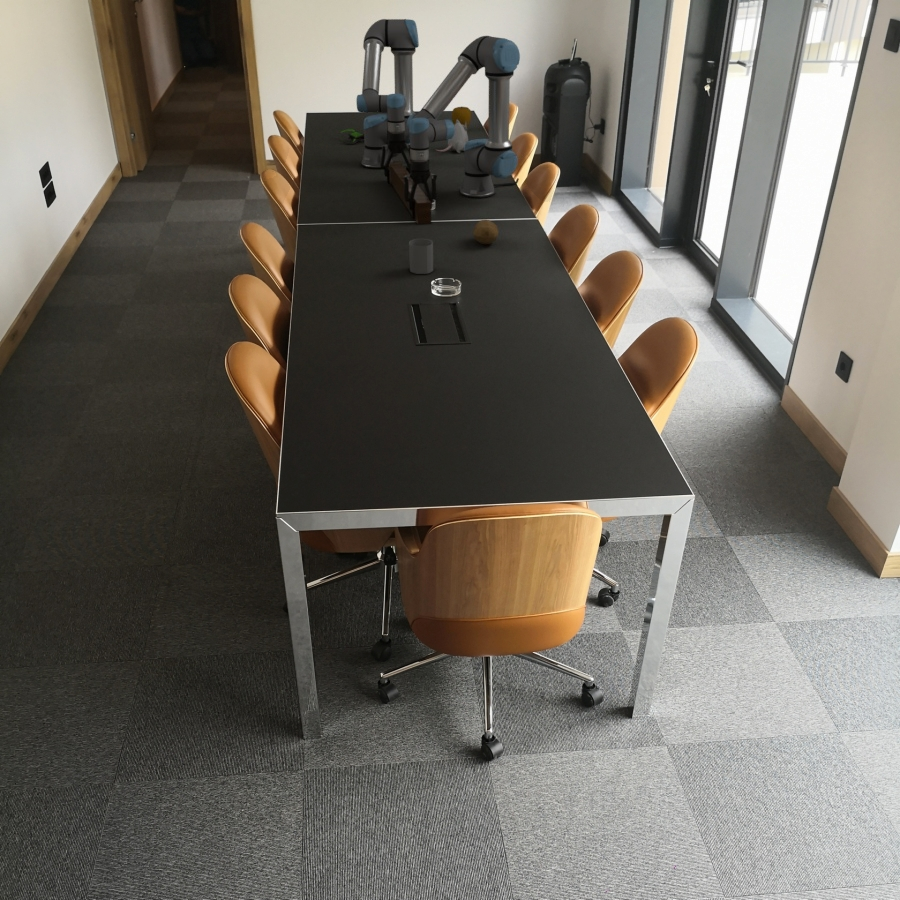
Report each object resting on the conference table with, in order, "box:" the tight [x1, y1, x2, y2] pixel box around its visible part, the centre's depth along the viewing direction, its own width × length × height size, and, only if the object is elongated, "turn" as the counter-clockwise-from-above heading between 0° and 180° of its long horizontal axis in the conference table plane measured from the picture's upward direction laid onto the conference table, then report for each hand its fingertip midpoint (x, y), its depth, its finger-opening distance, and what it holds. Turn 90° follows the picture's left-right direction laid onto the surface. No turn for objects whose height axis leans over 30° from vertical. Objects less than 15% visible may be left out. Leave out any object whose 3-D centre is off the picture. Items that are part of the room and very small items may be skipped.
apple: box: [451, 105, 472, 129], centre depth 487 cm, size 11×11×13 cm
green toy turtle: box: [338, 128, 364, 145], centre depth 467 cm, size 6×13×30 cm
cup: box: [408, 237, 434, 275], centre depth 305 cm, size 8×8×10 cm
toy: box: [436, 120, 469, 154], centre depth 444 cm, size 9×24×15 cm, turn 137°
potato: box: [472, 219, 499, 245], centre depth 330 cm, size 10×14×8 cm
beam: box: [388, 161, 432, 225], centre depth 376 cm, size 65×6×9 cm, turn 14°
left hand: (398, 182), depth 398 cm, fingers open, 8 cm apart
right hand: (420, 217), depth 357 cm, fingers closed on beam, 5 cm apart
